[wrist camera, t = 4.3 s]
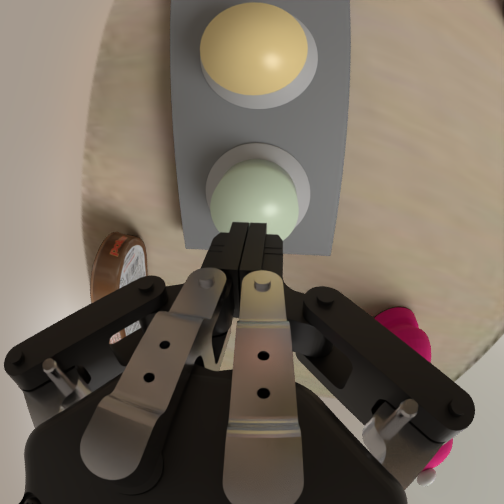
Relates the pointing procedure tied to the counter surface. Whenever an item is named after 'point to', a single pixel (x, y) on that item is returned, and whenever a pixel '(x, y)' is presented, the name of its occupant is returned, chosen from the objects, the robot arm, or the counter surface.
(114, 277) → the tin
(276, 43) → the ochre button
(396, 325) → the pepper mill
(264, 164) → the sage button
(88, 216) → the counter surface
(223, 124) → the button panel
